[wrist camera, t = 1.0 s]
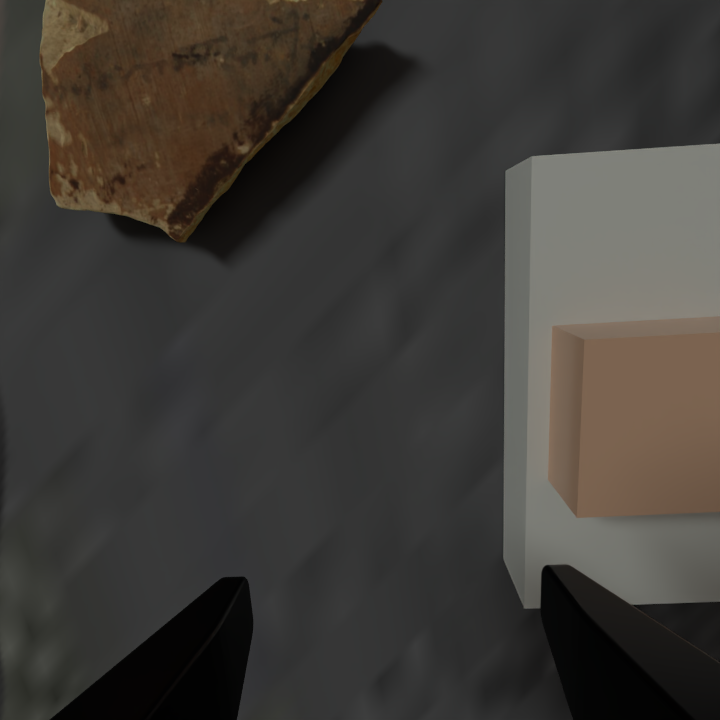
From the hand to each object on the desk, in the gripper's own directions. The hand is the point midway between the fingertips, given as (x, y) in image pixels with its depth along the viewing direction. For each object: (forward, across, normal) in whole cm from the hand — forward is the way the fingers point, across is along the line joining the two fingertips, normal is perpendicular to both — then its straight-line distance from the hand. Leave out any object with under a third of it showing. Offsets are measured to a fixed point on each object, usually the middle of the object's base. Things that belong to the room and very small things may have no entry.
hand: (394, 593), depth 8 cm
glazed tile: (+9, -8, 0) cm, 12 cm away
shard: (+13, +4, -15) cm, 20 cm away
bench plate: (+12, -10, 0) cm, 16 cm away
